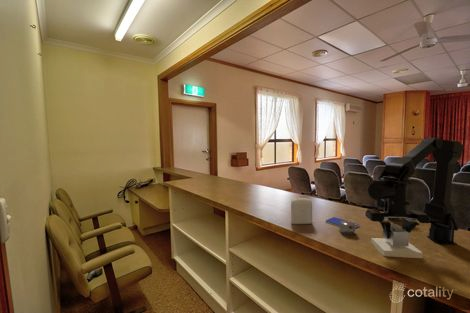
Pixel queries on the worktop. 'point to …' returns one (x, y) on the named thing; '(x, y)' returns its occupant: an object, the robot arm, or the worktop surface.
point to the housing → (398, 236)
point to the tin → (347, 228)
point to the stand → (395, 249)
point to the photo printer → (301, 211)
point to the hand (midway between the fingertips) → (395, 238)
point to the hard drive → (338, 222)
